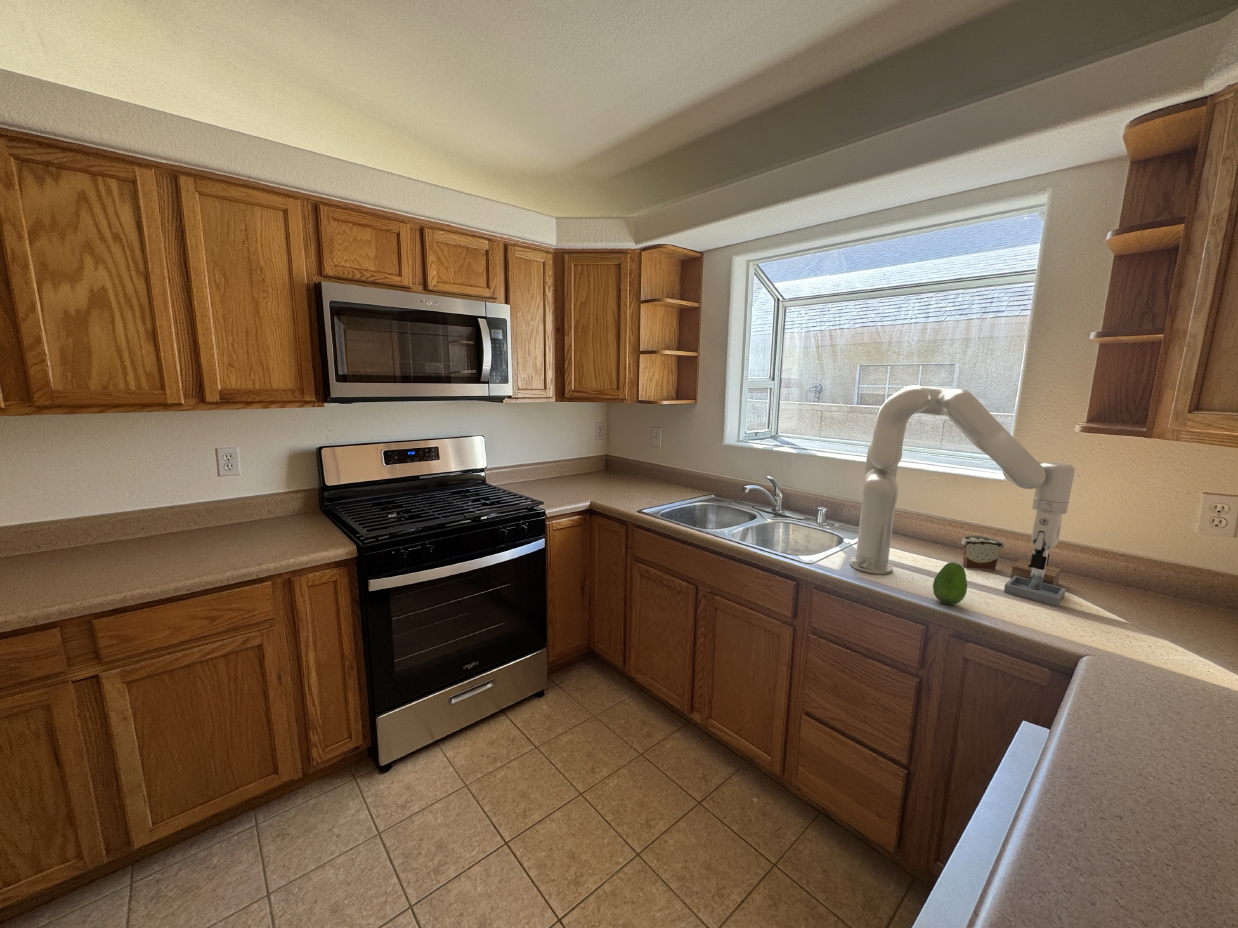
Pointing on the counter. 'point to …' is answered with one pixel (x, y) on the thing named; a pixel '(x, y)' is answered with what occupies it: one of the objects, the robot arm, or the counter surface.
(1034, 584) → the pin
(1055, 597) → the tray
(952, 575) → the avocado
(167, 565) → the counter surface
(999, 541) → the food container
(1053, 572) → the pin block
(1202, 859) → the counter surface
